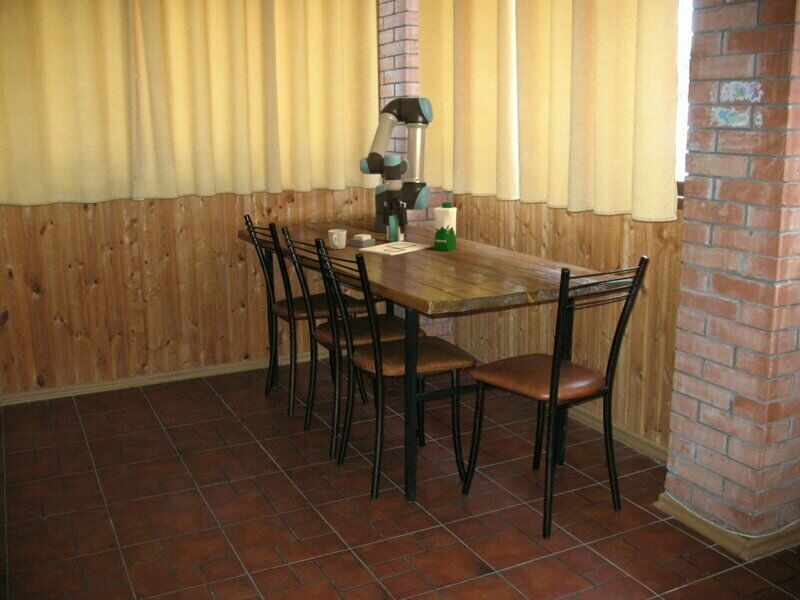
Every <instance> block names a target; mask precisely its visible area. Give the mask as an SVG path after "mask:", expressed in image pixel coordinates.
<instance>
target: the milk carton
mask: <svg viewBox="0 0 800 600" xmlns="http://www.w3.org/2000/svg"><path fill="white" fill-rule="evenodd" d="M441 204H442V205H441V206H439V207H435V208H433V217H434V218H433V219H434V221H433V222H434V225H433V227H434V238H433V239H434V243H433V244H434V246H433V247H434V251H439V252H441V251H442V252H452V251H454V250H456V249H457V248H456V247H457V246H456V245H457V210H458V209H457V207H454V206H452V202H449V201H448V202H446V201H445V202H442V203H441Z"/></svg>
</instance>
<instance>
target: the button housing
mask: <svg viewBox="0 0 800 600" xmlns="http://www.w3.org/2000/svg"><path fill="white" fill-rule="evenodd" d="M349 246H350V247H356V248H367V247H372V246H376V238H373V237H371V239H367V240H356V239H354V237H353V238H350V239H349Z"/></svg>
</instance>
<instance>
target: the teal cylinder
mask: <svg viewBox="0 0 800 600" xmlns="http://www.w3.org/2000/svg"><path fill="white" fill-rule="evenodd" d="M388 242H389V243H393V242H398V219H397V215H390V216H389V240H388Z"/></svg>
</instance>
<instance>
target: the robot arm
mask: <svg viewBox="0 0 800 600" xmlns="http://www.w3.org/2000/svg"><path fill="white" fill-rule="evenodd" d="M432 106H433V105H432V102H431V101H430V99H429V98H428V97H420V96H419V97H396V98H395V99H392V100H391V101H388V103H386V105H384V107H383V108H382V109H381V111H380V112H379V115H378V120H377V122H378V125H377V128H376V130H375V134H374V136H373V139H372V142H371V145H370V149H369V151H368V154H367V157H366V156H365V157H362V158H361V159H360V160H359V170H360V171H359V172H360V173H361V174H364V175H384V183H383V184H379V185H378V184H377V185H375V188H374V189H375V190H374V202H375V204H374V205H375V207H374V208H375V212H374V214H375V216H374V219H373V224H372V226H371V230H372V232H375V233H386V240H387V241H389V216H390V215H397V219H398V241H401V242H404V241H405V239H404V235H405V226H406V225H408V224H409V222H408V214H407V213H408V212H407V211H423V210H425V209H426V208H427V206H428V205H429V201H430V196H431V192H430V187H429V186H428V185H427V182H426V180H425V178H424V173H425V172H424V168H425V147H426V146H425V145H426V142H425V141H426V130H427V129H428V128H429V124H430V123H432V122H433V120H434V119H433V117H434V113H433V112H434V111H433V107H432ZM398 123H404V127H405V129H407V135H406V136H407V141H406V158H404V157H403V156H402V157H401V155H400V154H399V153H398V154H386V153H387V150H388V146H389V144H390V141H391V138H392V135H393V131H394V129H395V128H396V127H397V125H398ZM404 174H405V179H404V180H403V181H402V175H404Z"/></svg>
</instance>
